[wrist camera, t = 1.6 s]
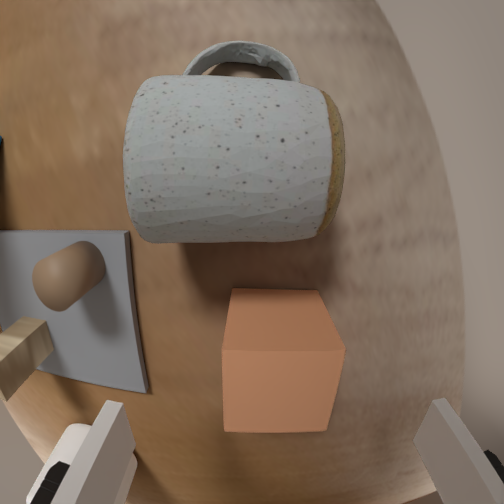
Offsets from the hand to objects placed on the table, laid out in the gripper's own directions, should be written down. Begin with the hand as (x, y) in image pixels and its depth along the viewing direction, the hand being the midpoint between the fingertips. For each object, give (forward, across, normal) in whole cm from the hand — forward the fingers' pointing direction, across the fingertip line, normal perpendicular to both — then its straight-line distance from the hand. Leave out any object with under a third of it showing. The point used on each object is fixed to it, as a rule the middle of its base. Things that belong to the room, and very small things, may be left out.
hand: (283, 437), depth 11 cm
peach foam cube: (+9, 0, 0) cm, 9 cm away
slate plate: (+9, -16, 0) cm, 18 cm away
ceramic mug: (+9, -3, +12) cm, 15 cm away
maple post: (+9, -18, -2) cm, 20 cm away
